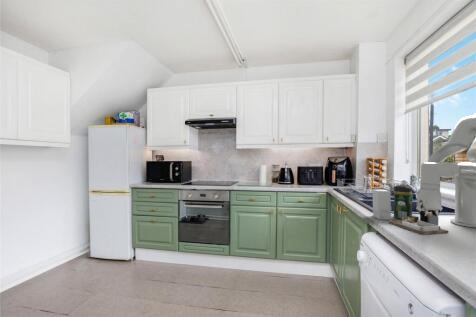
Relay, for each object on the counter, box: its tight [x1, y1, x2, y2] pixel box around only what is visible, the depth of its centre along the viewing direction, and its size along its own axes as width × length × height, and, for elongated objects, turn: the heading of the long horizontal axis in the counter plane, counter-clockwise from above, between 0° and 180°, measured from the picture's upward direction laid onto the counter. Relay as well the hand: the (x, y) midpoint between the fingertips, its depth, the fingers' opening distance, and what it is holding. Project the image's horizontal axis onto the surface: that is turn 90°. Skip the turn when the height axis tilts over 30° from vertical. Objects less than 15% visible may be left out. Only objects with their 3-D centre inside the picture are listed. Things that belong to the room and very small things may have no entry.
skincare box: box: [372, 189, 392, 221], centre depth 127 cm, size 8×7×16 cm
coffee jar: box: [393, 184, 413, 220], centre depth 128 cm, size 10×8×19 cm
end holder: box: [402, 219, 441, 232], centre depth 107 cm, size 10×10×2 cm
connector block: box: [419, 212, 439, 226], centre depth 114 cm, size 5×5×6 cm
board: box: [387, 214, 449, 236], centre depth 110 cm, size 14×18×4 cm
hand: (428, 222), depth 114 cm, fingers closed on connector block, 5 cm apart
